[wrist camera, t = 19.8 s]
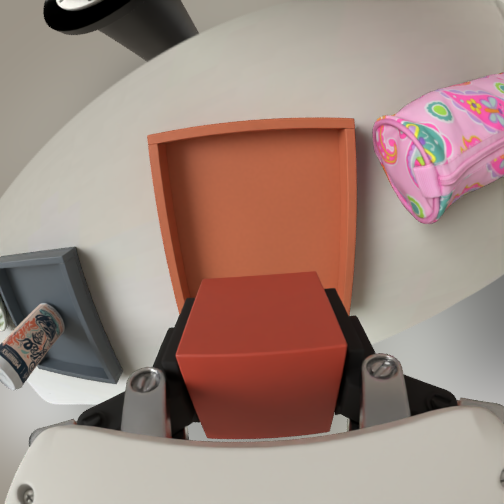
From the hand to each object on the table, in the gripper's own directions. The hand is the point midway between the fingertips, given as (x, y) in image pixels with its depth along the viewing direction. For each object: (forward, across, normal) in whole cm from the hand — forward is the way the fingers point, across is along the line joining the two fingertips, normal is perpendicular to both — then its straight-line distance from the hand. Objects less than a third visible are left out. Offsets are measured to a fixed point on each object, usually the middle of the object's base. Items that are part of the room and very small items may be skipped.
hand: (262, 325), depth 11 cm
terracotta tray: (+14, 0, 0) cm, 14 cm away
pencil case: (+14, -20, -9) cm, 26 cm away
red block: (0, 0, 0) cm, 0 cm away
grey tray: (+14, +27, +9) cm, 31 cm away
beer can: (+13, +27, +9) cm, 31 cm away
